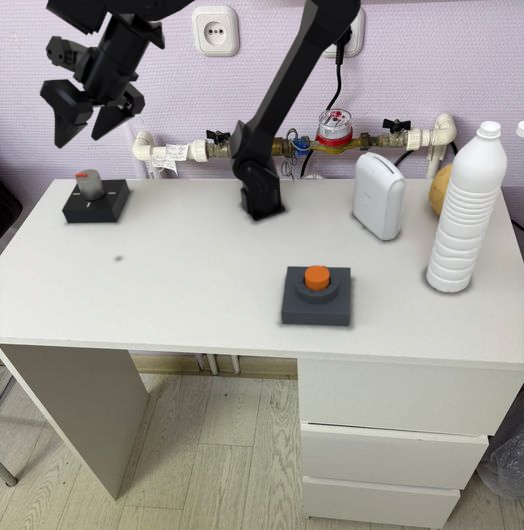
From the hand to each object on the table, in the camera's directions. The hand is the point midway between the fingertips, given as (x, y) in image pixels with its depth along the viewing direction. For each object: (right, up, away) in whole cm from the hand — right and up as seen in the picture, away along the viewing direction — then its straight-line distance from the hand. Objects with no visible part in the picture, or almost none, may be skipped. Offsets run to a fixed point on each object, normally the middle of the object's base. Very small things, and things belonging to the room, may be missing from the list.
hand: (76, 142), depth 80 cm
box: (+39, -26, -2) cm, 46 cm away
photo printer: (+50, -11, +8) cm, 52 cm away
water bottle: (+60, -22, -2) cm, 64 cm away
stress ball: (+64, -10, +8) cm, 65 cm away
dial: (-3, -3, +16) cm, 17 cm away
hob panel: (-2, -5, +19) cm, 20 cm away
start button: (+38, -23, -5) cm, 45 cm away
